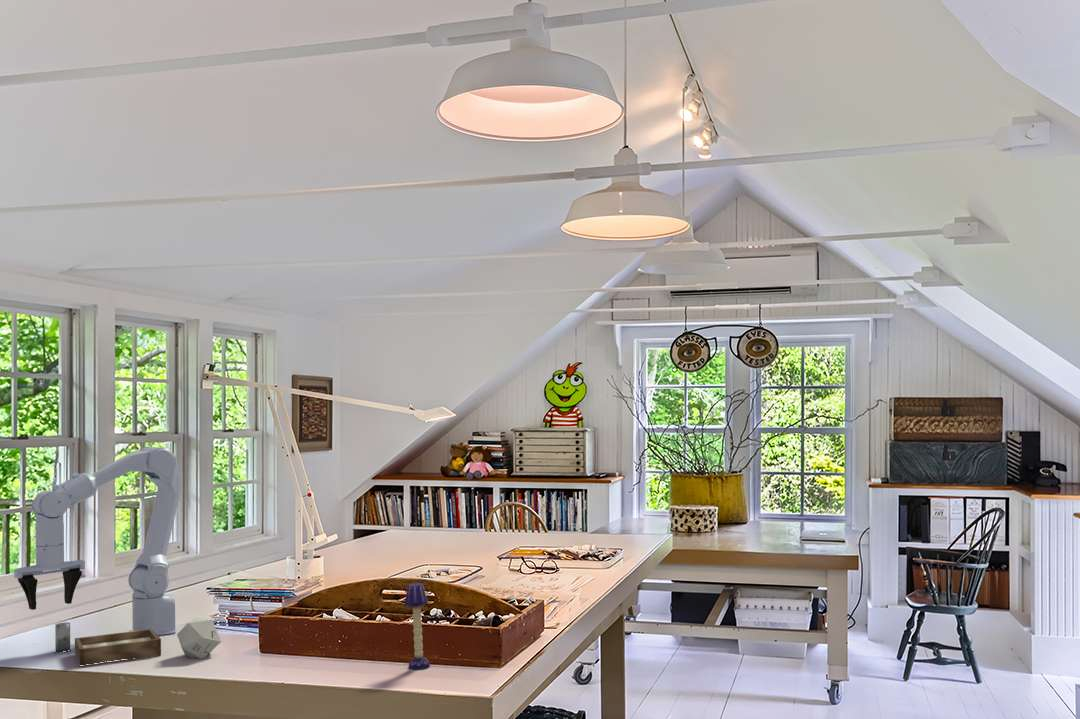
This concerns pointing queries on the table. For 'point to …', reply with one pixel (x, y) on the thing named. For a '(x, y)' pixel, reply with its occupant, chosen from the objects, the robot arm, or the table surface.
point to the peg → (62, 637)
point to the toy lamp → (417, 623)
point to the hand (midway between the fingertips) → (50, 606)
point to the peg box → (117, 646)
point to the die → (198, 638)
